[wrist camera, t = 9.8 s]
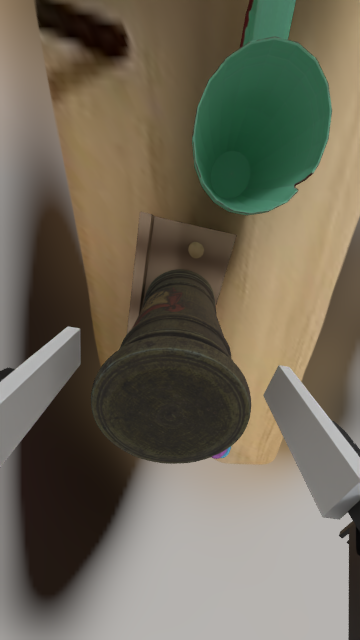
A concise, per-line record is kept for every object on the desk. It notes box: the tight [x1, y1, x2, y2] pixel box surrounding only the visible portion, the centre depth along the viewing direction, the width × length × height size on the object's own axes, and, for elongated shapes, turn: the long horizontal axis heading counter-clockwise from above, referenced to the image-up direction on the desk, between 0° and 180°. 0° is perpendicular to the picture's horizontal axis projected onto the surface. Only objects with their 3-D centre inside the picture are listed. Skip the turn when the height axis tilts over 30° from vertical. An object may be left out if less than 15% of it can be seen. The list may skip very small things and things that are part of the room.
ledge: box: [127, 212, 237, 334], centre depth 26 cm, size 19×11×6 cm, turn 168°
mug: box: [192, 0, 332, 215], centre depth 18 cm, size 15×10×10 cm
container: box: [91, 269, 251, 463], centre depth 18 cm, size 9×9×18 cm
